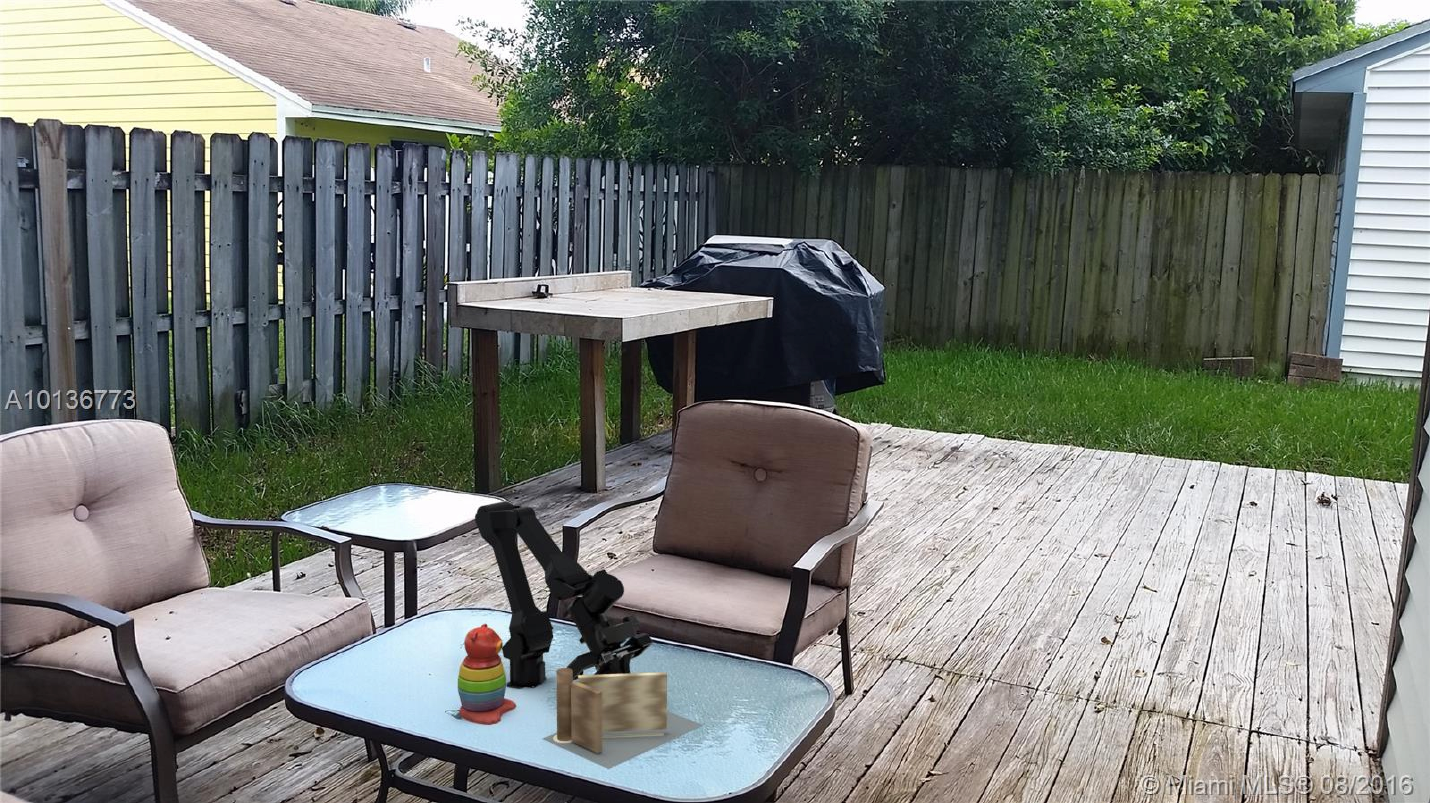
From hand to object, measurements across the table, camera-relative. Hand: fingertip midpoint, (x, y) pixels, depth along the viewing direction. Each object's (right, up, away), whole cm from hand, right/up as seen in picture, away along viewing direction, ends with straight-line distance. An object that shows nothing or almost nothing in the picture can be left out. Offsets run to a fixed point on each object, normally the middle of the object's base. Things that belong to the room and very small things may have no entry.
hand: (631, 694), depth 224 cm
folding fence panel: (-1, -5, -5) cm, 7 cm away
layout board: (-1, -7, -3) cm, 8 cm away
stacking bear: (-29, -6, +6) cm, 30 cm away
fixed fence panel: (-9, -7, -9) cm, 14 cm away
